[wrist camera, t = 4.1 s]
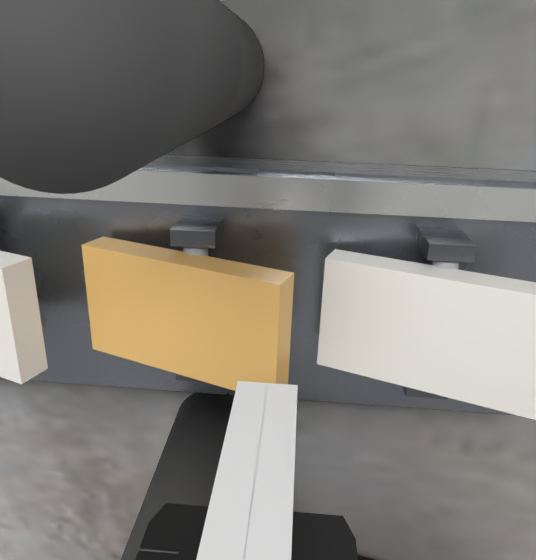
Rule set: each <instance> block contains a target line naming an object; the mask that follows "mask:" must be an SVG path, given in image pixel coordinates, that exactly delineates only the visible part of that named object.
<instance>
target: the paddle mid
mask: <svg viewBox="0 0 536 560" xmlns="http://www.w3.org/2000/svg"><path fill="white" fill-rule="evenodd" d="M81 246H82V255H83V264H84V273H85V283H86V292H87V301H88V310H89V319H90V329H91V338H92V347H93V349H95V350H98V351H101V352H105V353H108V354H112V355H115V356H118V357H122V358H125V359H129V360H132V361H135V362H139V363H142V364H146V365H149V366H152V367H156V368H159V369H163V370H166V371H169V372H173V373H176V374H180V375H183V376H186V377H190V378H193V379H196V380H200V381H203V382H207V383H210V384H213V385H217V386H220V387H224V388H227V389H230V390H234V391H236V387H237V383H238V381H246V382H260V383H275V384H288V377H289V359H290V341H291V323H292V305H293V287H294V272H288V271H283V270H278V269H272V268H267V267H262V266H257V265H251V264H246V263H241V262H236V261H230V260H225V259H220V258H215V257H209V256H208V248H197V247H183V251H178V250H172V249H167V248H162V247H157V246H151V245H146V244H141V243H136V242H130V241H125V240H120V239H114V238H109V237H104V236H103V237H101V238H98V239H95V240H93V241H90V242H87V243H85V244H82V245H81Z"/></svg>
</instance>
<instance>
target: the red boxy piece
mask: <svg viewBox="0 0 536 560" xmlns="http://www.w3.org/2000/svg"><path fill="white" fill-rule="evenodd" d="M357 558H358V560H371V559H368V558H364V557H361V556H357Z"/></svg>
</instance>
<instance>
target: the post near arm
mask: <svg viewBox="0 0 536 560" xmlns="http://www.w3.org/2000/svg"><path fill="white" fill-rule="evenodd" d="M263 75H264V58H263V52H262V49H261V45H260V43H259V41H258V38H257V37H256V35H255V33H254V32H253V30H252V29H251V28H250V27H249V26H248V25H247V23H246V22H244V21H243V20H242V19H241V18H239V17H238V16H237V15H236V14H234V13H233V12H232V11H231V10H229V9H228V8H227V7H226V6H224V5H223V4H222V3H221V2H219V1H218V0H0V177H1V178H3V179H5V180H7V181H8V182H11V183H14V184H16V185H19V186H22V187H24V188H28V189H32V190H36V191H40V192H46V193H55V194H75V193H82V192H88V191H93V190H96V189H99V188H102V187H106V186H108V185H110V184H112V183H114V182H116V181H118V180H120V179H122V178H124V177H126V176H128V175H129V174H131V173H133V172H135V171H136V170H138V169H140V168H142V167H144V166H145V165H147V164H149V163H151V162H152V161H154V160H156V159H158V158H160V157H161V156H163V155H165V154H167V153H168V152H170V151H172V150H174V149H176V148H177V147H179V146H181V145H183V144H184V143H186V142H188V141H190V140H192V139H193V138H195V137H197V136H199V135H200V134H202V133H204V132H206V131H208V130H209V129H211V128H213V127H215V126H216V125H218V124H220V123H222V122H224V121H225V120H227V119H229V118H231V117H232V116H234V115H236V114H238V113H239V112H241V111H242V110H244V109H245V108H246V107H247V106H248V105H249V104H250V103H251V102H252V101H253V99H254V98H255V96H256V95H257V93H258V91H259V89H260V86H261V83H262V80H263Z"/></svg>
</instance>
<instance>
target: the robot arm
mask: <svg viewBox="0 0 536 560" xmlns="http://www.w3.org/2000/svg"><path fill="white" fill-rule="evenodd" d="M297 389H298V385H289V384H275V383H260V382H246V381H238V383H237V387H236V392H235V396H234V400H233V404H232V409H231V413H230V417H229V422H228V426H227V430H226V434H225V439H224V443H223V447H222V451H221V456H220V460H219V464H218V469H217V473H216V477H215V481H214V486H213V490H212V494H211V499H210V503H209V506H197V505H185V504H173V503H166V504H165V505H164V506H163V507H162V508H161V509H160V510H159V511H158V513H157V514H156V515H155V516H154V517H153V518H152V519H151V520H150V522H149V523H148V525H147V528H146V531H145V534H144V536H143V539H142V542H141V545H140V549H139V552H138V553H137V556H136V559H135V560H358V558H357V548H356V539H355V537H354V535H353V534H352V532H351V530H350V528H349V526H348V525H347V523H346V521H345V519H344V517H343V516H336V515H324V514H312V513H300V512H293V498H294V471H295V444H296V416H297Z"/></svg>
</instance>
